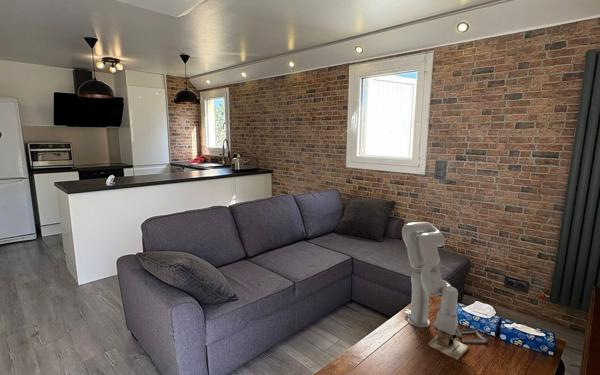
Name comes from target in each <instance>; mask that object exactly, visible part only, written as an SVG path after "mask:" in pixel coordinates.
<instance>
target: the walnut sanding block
mask: <svg viewBox="0 0 600 375" xmlns="http://www.w3.org/2000/svg"><path fill="white" fill-rule="evenodd" d="M437 335H438V338H437V344H438V345H440V346H442V347H444V348H446V349H447V348H448V347H449V339H450V334H448V333H446V332H444V331H441V330H439V331H438V333H437Z"/></svg>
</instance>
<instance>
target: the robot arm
mask: <svg viewBox="0 0 600 375" xmlns="http://www.w3.org/2000/svg"><path fill="white" fill-rule="evenodd" d="M401 236H402V237H401V238H402V239H403V242H404V244H405V246H406V250H407V256H408V259H409V263H410V266H411V267H412V269H416V270H417V269H421V270H417V271H415V272H413V273H412V274H411V277H410V279H411V280H410V281H411V301H410V302H411V304H410V309H408V308H405V309H404V314H405V315H408V316H407V317H406V319H407V322H408V323H409V324H410V325H412V326H414V327H417V328H423V329H424V328H428V327H429V326H430V325H431V321H430V320H429V318H428V316H429V303H430V302H429V301H430V297H437V296H441V297H440V304H439V303H438V304H437V307H438V308H439V309H438V310H437V314H436V318H435V321H433V322H432V326H433V327H434V329H435V330H436V332H437V334H438V331H439V330H441V331H444V332H446V333H448V334H450V339H449V346H451V345H452V344H453V343H454V340H455V339H457V338H459V337H460V336H461V337H462V334H461V333H460V332H459V330H460V329H459V320H458V314H457V306H458V297H459V292H458V289H457V288H456V287H454V286H452V285H451V283H449V281H447V280H445V279H443V278H442V272H441V269H440V264H439V263H440V261H441V256H440V254H439V250H438V248H441V247H443V246H444V245H445V243H446V240H445V237H444V235H443V234H442V232H441V231H440V230H439V229H438V228H437V227H436V226H435V225H433V224H432V223H431V222H429V221H420V222H418V221H417V222H409V223H406V224H403V226H402V228H401ZM417 237H418V239H417ZM456 333H457V334H456Z"/></svg>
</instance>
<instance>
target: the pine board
mask: <svg viewBox="0 0 600 375" xmlns="http://www.w3.org/2000/svg"><path fill="white" fill-rule="evenodd" d="M437 338H438V334H437V335H436V336H434V337H433V338H432V339H431V340H430V341H428V346H429V347H431V348H433V349H435V350H437V351H438V352H441V353H442V354H445V355H447V356H448V357H450V358H453V359H454V360H456V361H458V360H459V359H460V358H461V357H462V356H463V355H464V354H465V352H467V351H468V349H469V346H468V345H466V344H464V343H463V342H460V341H458V340H456V339H454V343H453V344H452V345H451V346H449V347H448V348H447V349H446V348H444V347H442V346H440V345H438V344H437Z"/></svg>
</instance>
